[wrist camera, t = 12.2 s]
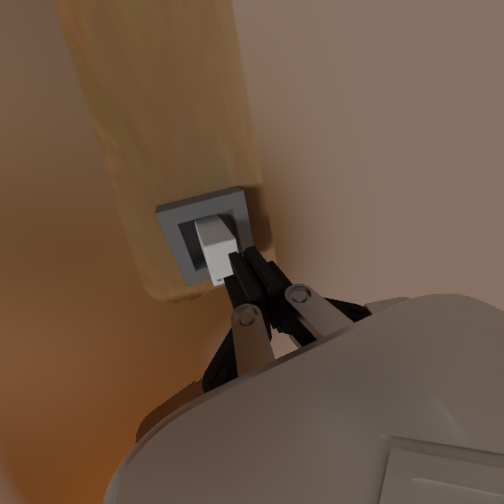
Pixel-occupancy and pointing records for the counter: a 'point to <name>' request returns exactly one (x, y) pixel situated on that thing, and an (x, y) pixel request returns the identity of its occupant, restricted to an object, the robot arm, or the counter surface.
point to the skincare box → (216, 246)
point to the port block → (185, 235)
